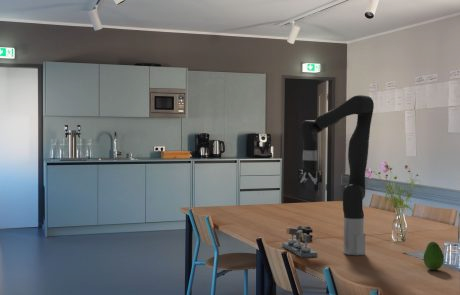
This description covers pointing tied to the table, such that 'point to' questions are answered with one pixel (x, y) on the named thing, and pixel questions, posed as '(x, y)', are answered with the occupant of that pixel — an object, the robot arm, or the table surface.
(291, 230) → the knob far
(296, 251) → the level plate
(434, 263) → the avocado
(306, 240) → the knob near
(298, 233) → the knob mid
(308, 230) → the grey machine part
